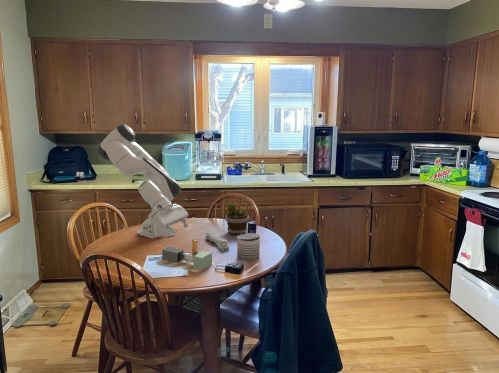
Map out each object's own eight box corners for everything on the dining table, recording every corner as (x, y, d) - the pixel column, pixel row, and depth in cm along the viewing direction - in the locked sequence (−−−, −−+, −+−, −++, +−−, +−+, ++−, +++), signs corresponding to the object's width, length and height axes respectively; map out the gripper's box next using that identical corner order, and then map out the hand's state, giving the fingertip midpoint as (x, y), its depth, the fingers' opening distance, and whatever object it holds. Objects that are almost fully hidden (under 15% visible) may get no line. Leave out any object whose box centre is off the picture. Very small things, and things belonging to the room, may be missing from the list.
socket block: (193, 268, 175) (193, 256, 174) (203, 262, 182) (203, 250, 181) (202, 270, 172) (202, 258, 171) (212, 264, 179) (211, 252, 178)
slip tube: (176, 259, 182) (175, 237, 180) (179, 257, 185) (179, 236, 183) (203, 266, 175) (203, 243, 173) (207, 263, 178) (207, 241, 175)
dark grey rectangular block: (162, 259, 185) (162, 249, 184) (169, 256, 189) (168, 246, 188) (177, 262, 181) (177, 253, 180) (183, 259, 185) (183, 249, 184)
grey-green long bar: (212, 231, 220) (230, 238, 198) (213, 242, 221) (231, 251, 199) (204, 232, 218) (221, 240, 196) (204, 244, 218) (222, 252, 196)
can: (242, 263, 183) (242, 240, 181) (233, 255, 194) (233, 233, 191) (263, 260, 188) (263, 237, 186) (254, 252, 198) (254, 230, 196)
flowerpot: (248, 228, 239) (249, 197, 235) (249, 236, 224) (249, 203, 220) (225, 228, 238) (225, 197, 234) (224, 236, 223) (224, 203, 219)
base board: (155, 264, 181) (155, 262, 181) (174, 254, 194) (174, 253, 193) (198, 275, 170) (198, 272, 170) (215, 264, 182) (215, 262, 182)
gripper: (173, 207, 192) (190, 227, 190) (145, 217, 174) (164, 240, 172) (180, 199, 189) (197, 219, 187) (152, 208, 172) (171, 231, 169)
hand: (181, 229), depth 179 cm, fingers open, 8 cm apart
